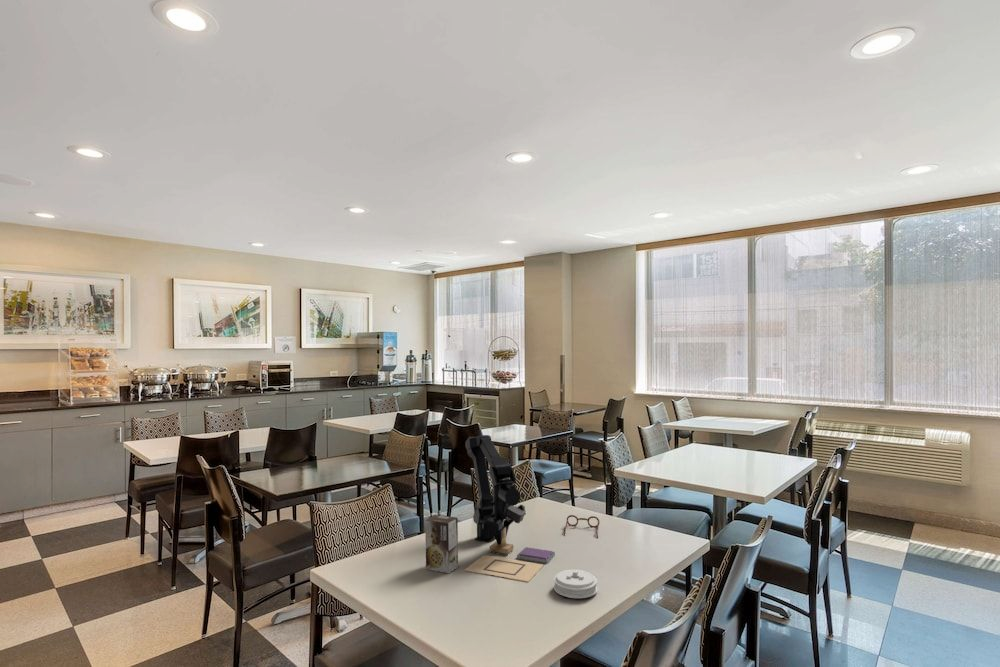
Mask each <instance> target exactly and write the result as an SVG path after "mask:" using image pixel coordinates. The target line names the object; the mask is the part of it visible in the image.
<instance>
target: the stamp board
mask: <svg viewBox="0 0 1000 667" xmlns="http://www.w3.org/2000/svg"><path fill="white" fill-rule="evenodd" d="M544 566H545V565H544V564H542V563H537V562H536V563H535V562H531V561H525V560H519V559H510V558H505V557H500V556H492V555H488V554H483V555H482V556H481V557H480V558H478V559H476V561H474V562H473V563H472V564H471V565H469V566H468V567H467V568H466V569H464V572H469V571H470V572H469V573H474V572H475V573H476V574H480V573H481V574H482V575H485V574H488V575H487V576H491V575H494V576H493V577H496V576H499V577H498V578H502V577H504V578H503V579H507V578H508V580H513V579H514V581H518V580H519V582H524V581H525V583H529V582H530V581H532V578H534V577H535V576H536V575H537V573H538V572H539V571H540V570H541V569H542V568H543V567H544ZM535 574H536V575H535ZM534 575H535V576H534Z"/></svg>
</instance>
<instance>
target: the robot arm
mask: <svg viewBox="0 0 1000 667" xmlns="http://www.w3.org/2000/svg"><path fill="white" fill-rule="evenodd" d="M464 446H465V449H466V452H467V455H468V456H469V457H470V458H471V460H472V461H473V468H474V473H475V480H476V486H477V492H478V500H477V502H476V505H475V506H476V507H475V508H476V509H475V511H474V513H473V515H472V518H473V522H474V523H475V524H476V537H475V538H474V540H475V541H482V542H492V541H494V539H495V542H497V544H498V545H501V542H502V533H503V530H504V529H505V528H506V537H507V535H508V531H509V528H510V525H511V524H513V523H515V524H520V523H521V522H523V520H524V518H525V516H526V509H525V508H526V507H525V505H523V504H522V503H521V504H519V502H520V500H521V492H520V490H518V489H517V488H516V485H515V484H517V480H516V479H517V478H516V475H515V472H514V469H513V467H512V465H511V464H510V462H508V461H509V460H507V459H506V458H504V457H501V454H500V453H499V452H498V450H497V447H496V446H495V444H494V442H493V441H492V437H491V435H489V434H485V435H484V434H482V435H478V436H470V437H468V438H467V439H466V440H465V444H464ZM487 463H488V464H489V470H488V468H487ZM488 472H489V474H488ZM489 476H490V478H491V484H492V492H491V487H490V486H491V485H490V480H489ZM518 504H519V505H518ZM517 505H518V506H517Z"/></svg>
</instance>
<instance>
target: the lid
mask: <svg viewBox="0 0 1000 667" xmlns="http://www.w3.org/2000/svg"><path fill="white" fill-rule="evenodd" d="M553 581H554V585H553V589H554V591H555V592H556V593H557V594H558V595H561V596H563V597H566V598H570V599H586V598H590V597H593V596H595V595H596V594H597V592H598V587H597V584H598V579H597V578H596V577H595V576H594V575H593V574H592V573H591V572H589V571H586V570H584V569H583V570H582V569H566V570H565V569H564V570H562V571H559V572H558V573H556V574H555V576H553Z"/></svg>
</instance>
